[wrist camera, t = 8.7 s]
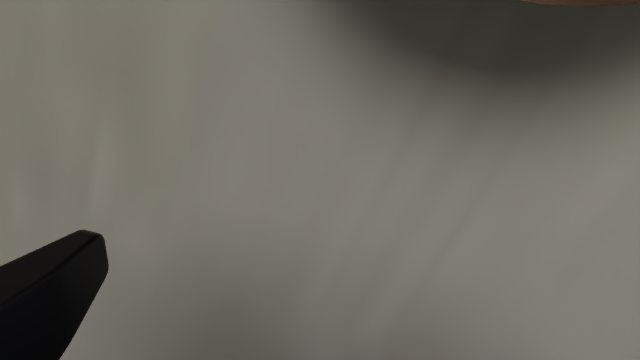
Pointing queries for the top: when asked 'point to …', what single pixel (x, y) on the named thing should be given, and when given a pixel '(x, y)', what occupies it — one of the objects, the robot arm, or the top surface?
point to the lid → (583, 2)
